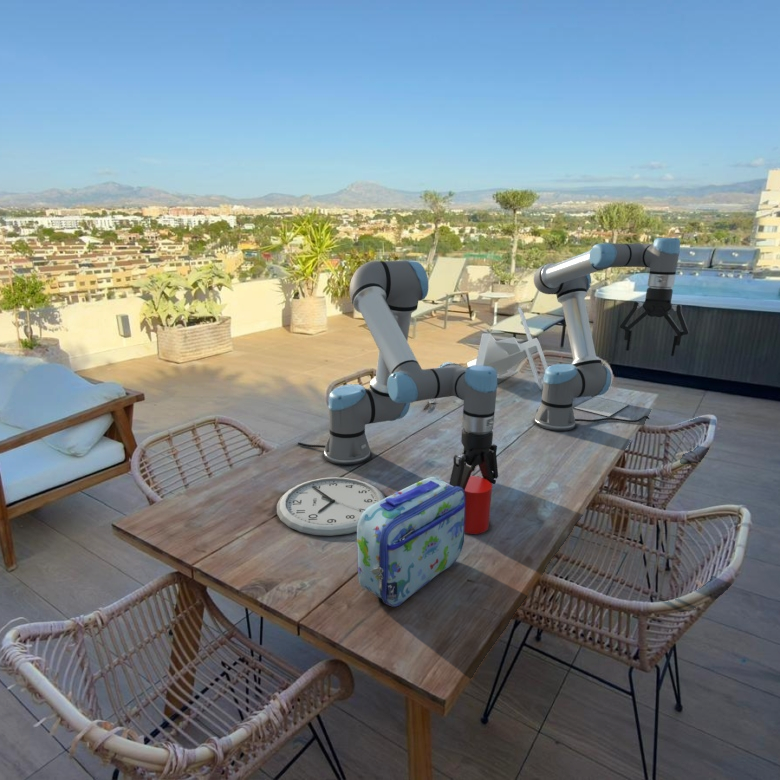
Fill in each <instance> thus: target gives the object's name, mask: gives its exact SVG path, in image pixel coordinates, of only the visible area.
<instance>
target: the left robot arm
mask: <svg viewBox="0 0 780 780" xmlns="http://www.w3.org/2000/svg"><path fill="white" fill-rule="evenodd" d="M429 286H430V285H429V278H428V273H427V272H426V269H425V267H424V266H423V265H422V264H421V263H420V262H419V261H417V260H407V259H401V260H400V259H399V260H372V261H367V262H365V263H363V264H362V265H360V266H359V267H358V268H357V269H356V270H355V271H354V273H353V275H352V277H351V279H350V283H349V291H348V292H349V297H350V302H351V304H352V306H353V308H354V310H355V311H356V312H357V313H359V314H361V316H362V319H363V321H364V322H365V324H366V326H367V329H368V331H369V333H370V335H371V336H372V339H373V341H374V343H375V345H376V347H377V349H378V355H377V363H376V371H375V376H373V377H372V378H371V379H370V381H369V388H365V387H364V386H363V385H361V384H357V383H356V384H355V383H354V384H350V383H349V384H344V385H340V386H338V387H335V388H334V389H332V391H331V392H330V393H329V395H328V404H327V406H328V425H329V426H328V428H329V429H328V431H329V432H328V433H329V435H328V437H327V440H326V443H325V445H324V444H307V443H303V442H297V445H299V446H303V447H307V448H321V449H322V448H323V449H324V450H323V451H324V452H323V456H324V459H325V460H326V461H327V462H329V463H331V464H335V465H339V466H351V465H358V464H361V463H364V462H367V461H368V460H369V459H370V457H371V447H370V444H369V441H368V439H367V436H366V425H371V424H375V423H382V422H393V421H396V420H401V419H402V418H404V417H406V415H407V414H408V413H409V410H410V407H411V404H412V403H414V402H415V403H416V402H420V401H426V400H430V399H431V400H433V399H434V400H435V399H442V398H449V397H455V398H458V399H459V400H462V401H463V408H462V418H461V420H462V421H461V427H462V429H461V437H460V439H461V440H460V442H461V444H462V446H463V449H462V450H463V451H462V453H461V454H460V455H457V454H455V455H454V456H453V464H452V465H453V466H452V471H451V475H450V478H449V482H448V484H450V485H451V486H453V487H455V486H458V487H461V488H462V489H463V490H464V491H465V488H466V486H467V483H468V480H469V478H470V476H472V473H473V472H474V471H475V470H476V467H477V466H478V467H479V471H480V473H481V476H482V478H484V479H486V480H488V481H489V482H490V483H491V484H492V485H495V484H496V481H497V480H496V479H498V477H499V471H498V459H497V450H498V445H497V444H494V443H493V438H494V431H493V430H494V424H495V423H494V422H495V413H496V401H497V392H498V391H497V390H498V386H499V385H498V374H497V371H496V370H495V369H494V368H492V367H490V366H484V365H473V366H469V367H468V366H467V367H465V366H463V365H460V364H458V363H454V362H450V361H449V362H448V361H447V362H444V363H442V364H440V365H439V366H438V367H435V368H434V367H433V368H424V369H423V368H422V367H421V365H420V363H419V361H418V359H417V357H416V356H415V354H414V352H413V349H412V348H411V346H410V343H409V342H408V340H409V333H410V328H411V327H410V325H411V321H412V320H411V319H412V313H414V312H416V311H417V310H418V305H419V302H421V301H423V300H425V299H426V298H427V296H428V293H429Z"/></svg>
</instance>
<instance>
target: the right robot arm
mask: <svg viewBox="0 0 780 780" xmlns="http://www.w3.org/2000/svg"><path fill="white" fill-rule="evenodd" d="M680 239H681V238H678V237H656V238H654V240H653V243H640V242H634V243H619V242H618V243H617V242H616V243H615V242H613V243H612V242H603V243H596V244H594V245H593V246H592V248H591V249H590V250H589V251H588V250H587V251H585V252H584V253H580V254H578V255H575V256H572V257H570V258H568V259H565V260H562V261H559V262H557V263H554V262H550V263H549V262H548V263H547V264H544V265H542V266H540V267H538V268H537V269H536V270H535V272H534V275H533V284H534V286H535V288H536V289H537V291H539V292H540V293H542V294H545V295H556V300H557V302H558V303H560V304H561V305H562V310H563V316H564V320H565V325H566V331H567V336H568V340H569V346H570V351H571V356H572V362H571V363H556V364H552V365H549V366H548V368H547V369H546V370H544V375H543V378H542V379H543V384H542V394H541V402H540V405H539V407H538V409H536V413H535V416H534V424H535V425H536V426H537V427H539V428H542V429H544V430H549V431H556V432H567V431H572V430H574V429H575V428H576V422H588V423H594V422H601V421H619V422H625V423H639V422H641V421H642V420H644V419H647V420H650V417H649V416H648V415H643V416H641V417H640V418H638V419H624V418H619V417H618V418H617V417H616V418H615V417H603V418H597V419H587V418H586V419H585V418H584V419H583V418H575V417H576V416H575V413H574V407H573V405H574V399H578V398H579V399H580V398H588V397H592V398H594V397H598V396H602V395H604V394H606V393H607V392H608V391H609V389H610V388H611V385H612V372H611V370H610V369H609V368H608V367H607V366H605V365H603V363H602V359H601V358H599V357H598V356H597V354H596V349H595V343H594V339H593V334H592V330H591V324H590V319H589V314H588V311H587V310H588V309H587V306H586V305H587V304H586V300H585V299H586V297H587V296H588V291H589V290H590V288H591V285H592V276H591V274H594V273H597V272H600V271H603V270H607V269H609V268H610V269H611V268H649V273H648V280H647V286H648V287H647V288H646V292H645V298H644V299H645V300H644V302H641V301H638V300H636V301H634V302H633V306H632V308H631V310H630V311H629V312H628V314H627V316H626V317H625V319H624V320H623V321H622V322H621V324H620V325H619V328H620V329H622V330H624V331H625V332H624V341H626V347H625V349H626V350H625V351H627V352H628V351H630V350H631V343H632V336H633V329H632V328H633V327H635V326H636V325H637V324H638V323H639V322H641V320H643V319H644V318H645V317H646V316H649V317H656V318H664V319H665V320H666V321H667V323H668V324H669V325H670V327H671V328H672V329H673V331H674V333H675V334H674V336H673V342H672V343H673V344H672V348H671V353H670V356H671V357H674V356H675V354H676V348H677V346H681V342H682V337H683V336H685V335H688V334H689V333H690V331H689V328H688V325H687V323H686V320H685V317H684V315H683V312H682V304H681V303H677V304H672V298H673V292H674V290H673V288H674V286H675V280H676V273H677V267H678V262H679V261H678V260H679V258H680V257H679V256H680V253H681V240H680ZM641 307H642V308H643V310H644V312H643V313H641V314H640V315H639V316H638V317H636V318H635V319H634V320H633V321H632V322H631V323H630V324H629V325H627V324H628V323H629V321H631V319H632V317H633V316H634V315H635V313H636V312H637V310H638V309H641ZM671 309H673V311H674V312H676V316H677V318H678V321H679V324H680V326H681V328H680V327H679V326H678V325H677V323H676V322H675V320H674V319H673V318H672V316H671V314H670V313H669V312H670V311H671ZM631 329H632V330H631ZM681 329H682V330H681Z"/></svg>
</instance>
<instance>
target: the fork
mask: <svg viewBox="0 0 780 780" xmlns="http://www.w3.org/2000/svg"><path fill="white" fill-rule="evenodd" d="M436 399H437V398H436ZM436 399H428V403H427V404H425V406H424V407H423V411H425V410H426V409H427V408H428V407H430V405H431V404H434V403H435V402H436Z"/></svg>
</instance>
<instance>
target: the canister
mask: <svg viewBox="0 0 780 780" xmlns="http://www.w3.org/2000/svg"><path fill="white" fill-rule="evenodd" d="M464 493H465V531H464V534H470V535H478V534H482V533H485V532H486V531H488V530H489V528H490V526H489V525H490V515H491V505H492V504H491V503H492V493H493V484H491V483H490V482H489V481H488V480H486V479H484V478H483V477H481V476H476V475H470V478H469V480H468V483H467V486H466V488H465V491H464Z"/></svg>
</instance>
